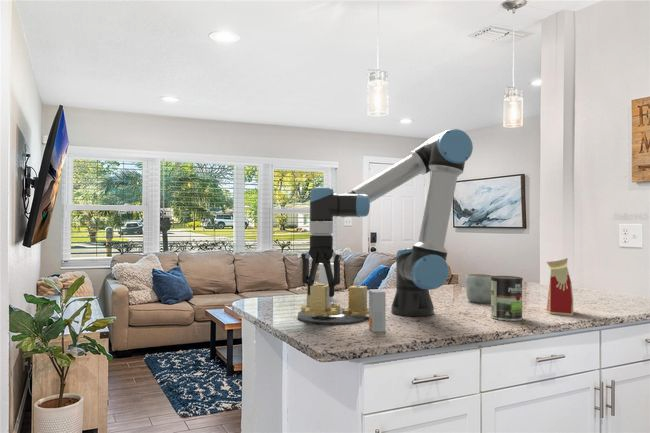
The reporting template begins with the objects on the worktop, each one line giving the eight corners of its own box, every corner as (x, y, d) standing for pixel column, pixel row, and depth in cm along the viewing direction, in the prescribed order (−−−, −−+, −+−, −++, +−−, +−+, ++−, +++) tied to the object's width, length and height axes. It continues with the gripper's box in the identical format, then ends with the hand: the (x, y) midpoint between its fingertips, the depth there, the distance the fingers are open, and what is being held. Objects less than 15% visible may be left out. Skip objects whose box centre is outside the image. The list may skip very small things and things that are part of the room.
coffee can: (529, 319, 175) (529, 277, 175) (507, 322, 171) (507, 279, 171) (505, 314, 184) (505, 274, 184) (484, 317, 180) (484, 276, 180)
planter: (501, 304, 206) (501, 277, 206) (470, 304, 206) (470, 277, 206) (491, 299, 219) (491, 273, 219) (462, 299, 219) (462, 273, 219)
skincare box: (368, 327, 161) (368, 289, 161) (382, 327, 161) (382, 289, 161) (371, 332, 155) (372, 292, 155) (386, 331, 155) (386, 291, 155)
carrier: (379, 315, 182) (379, 283, 182) (357, 327, 161) (357, 291, 161) (309, 309, 193) (309, 279, 193) (280, 320, 172) (280, 287, 172)
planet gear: (330, 317, 161) (330, 288, 161) (297, 314, 166) (297, 286, 166) (343, 311, 172) (343, 284, 172) (312, 308, 176) (312, 282, 176)
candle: (317, 299, 216) (317, 264, 216) (319, 297, 223) (320, 262, 223) (333, 300, 215) (333, 264, 215) (335, 297, 222) (335, 262, 222)
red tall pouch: (573, 311, 191) (573, 257, 191) (573, 316, 182) (573, 259, 182) (546, 309, 194) (546, 256, 194) (545, 313, 186) (545, 258, 186)
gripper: (351, 234, 169) (350, 306, 169) (301, 233, 176) (300, 302, 176) (343, 235, 162) (342, 309, 162) (291, 234, 169) (290, 305, 169)
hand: (320, 305), depth 169 cm, fingers closed on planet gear, 5 cm apart
